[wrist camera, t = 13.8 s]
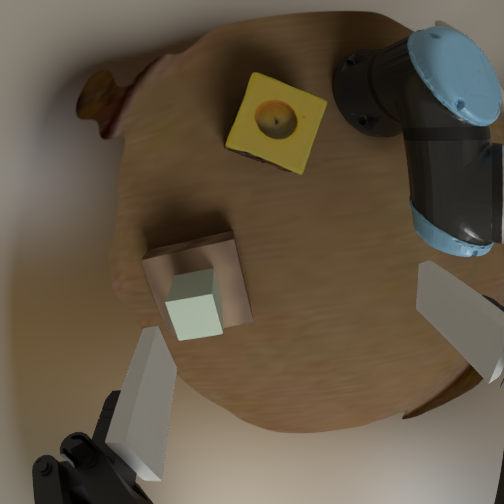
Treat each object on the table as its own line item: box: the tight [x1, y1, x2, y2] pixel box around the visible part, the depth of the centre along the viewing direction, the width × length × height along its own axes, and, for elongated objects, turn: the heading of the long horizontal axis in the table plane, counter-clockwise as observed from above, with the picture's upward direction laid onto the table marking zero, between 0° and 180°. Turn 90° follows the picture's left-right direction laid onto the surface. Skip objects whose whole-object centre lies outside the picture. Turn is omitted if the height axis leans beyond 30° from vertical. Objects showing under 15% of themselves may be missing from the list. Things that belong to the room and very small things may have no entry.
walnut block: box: [141, 231, 253, 337], centre depth 46 cm, size 14×14×5 cm
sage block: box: [165, 268, 223, 341], centre depth 39 cm, size 6×6×8 cm
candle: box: [224, 72, 327, 174], centre depth 36 cm, size 10×10×10 cm
